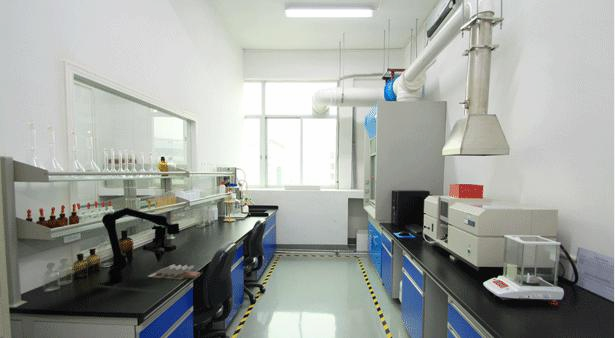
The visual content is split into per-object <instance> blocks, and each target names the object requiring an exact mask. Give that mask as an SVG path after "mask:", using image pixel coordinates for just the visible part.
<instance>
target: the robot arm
mask: <svg viewBox="0 0 615 338" xmlns="http://www.w3.org/2000/svg"><path fill="white" fill-rule="evenodd" d="M125 216H129V217H133V218H137V219H141V220H145V221H148V222H151V223H153V224H154V225H153V226H152V227H151V228H150V229H151V230H154V238H153V237H152V241H150V242H149V243H147V244H144V245H143V246H142V251H146V252H151V253H153V254H154V256H155V258H156V260H157V262H158V263H160V262H161V261H162V258H163V256H164V255H165V253H166V252H167V253H170V252H173V251H176V250H177V246H176V244H168V245H167V243H166V239H167V238H168V237H167V236H166V235H167V234H168V236H173V235H179V234H180V224H179V223H177V222H176V223H169V222H168V221H167V218H166V216H165V215H164V214H156V213H154V214H153V213H148V212H145V211H144V212H143V211H141V210H137V209H133V208H130V207H123V208H122V209H120V210H117V211H114V212H107V213H105V214H104V215H103V216H102V219H101V222H102V224H103V226H104V228H105V229H106V230H107V235H108V238H109V243H110V246H111V250H112V251H111V252H112V257H113V258H112V260H113V261H112V264H111V265H110V266H108V272H107V278H106V281H107V283H108V284H109V286H113V285H111V284H118V283H121V282H123V277H124V275H123V274H124V273H123V271H122V270H123V269H125V268H126V266H127V263H128V258H127V255H126V254H127V253H126V252H124V253H123V251H122V248H121V244H120V240H119V236H118V232H117V227H116V225H117V220H119V219H121V218H123V217H125Z"/></svg>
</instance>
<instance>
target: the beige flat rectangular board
mask: <svg viewBox="0 0 615 338" xmlns="http://www.w3.org/2000/svg"><path fill="white" fill-rule="evenodd" d="M147 277H148V278H149V277H150V278H158V279H159V278H161V279H170V280H171V279H173V280H182V279H184V278H185V277H180V274H179V275H177V276H174V274H172V275H169V276H168V274H164V275H162V274H161V273H159V274H157V275H156V274H155V272H153V273H151V274H149V275H147Z"/></svg>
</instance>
